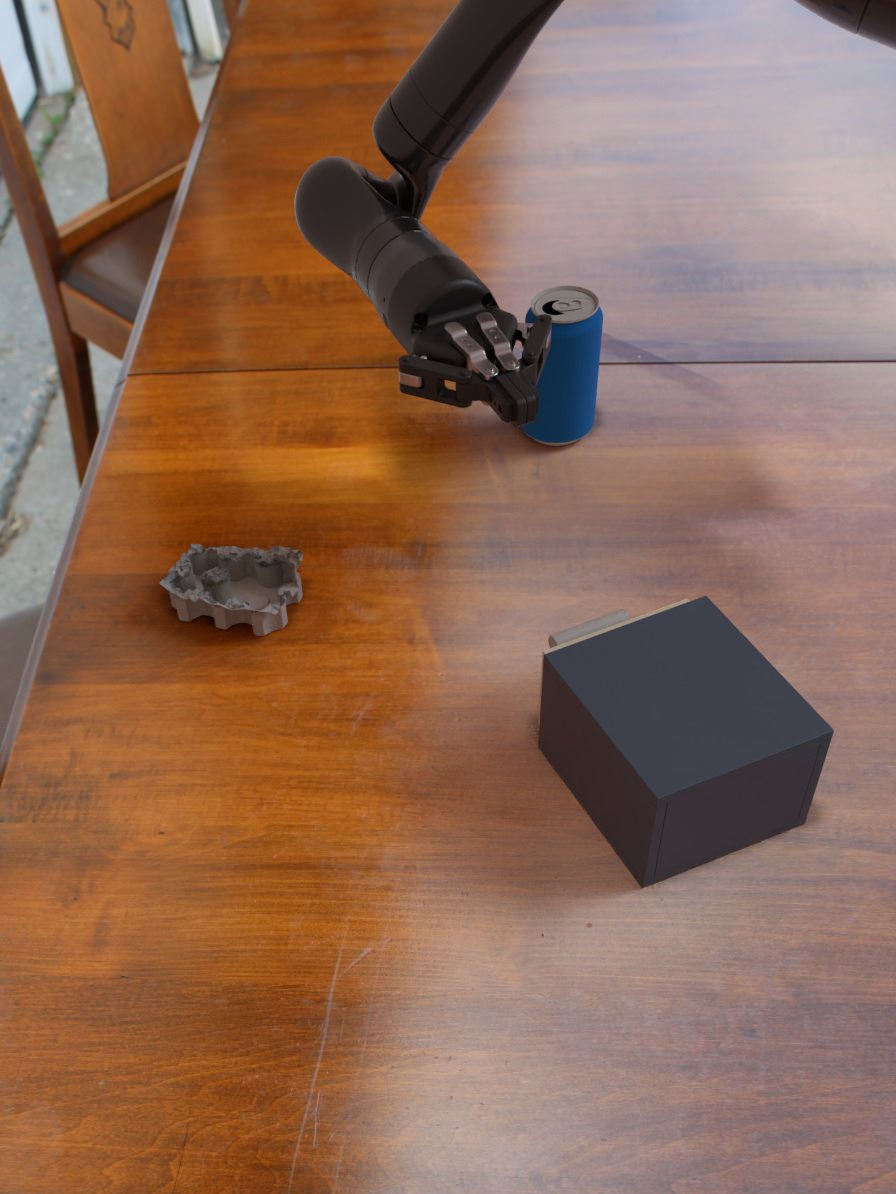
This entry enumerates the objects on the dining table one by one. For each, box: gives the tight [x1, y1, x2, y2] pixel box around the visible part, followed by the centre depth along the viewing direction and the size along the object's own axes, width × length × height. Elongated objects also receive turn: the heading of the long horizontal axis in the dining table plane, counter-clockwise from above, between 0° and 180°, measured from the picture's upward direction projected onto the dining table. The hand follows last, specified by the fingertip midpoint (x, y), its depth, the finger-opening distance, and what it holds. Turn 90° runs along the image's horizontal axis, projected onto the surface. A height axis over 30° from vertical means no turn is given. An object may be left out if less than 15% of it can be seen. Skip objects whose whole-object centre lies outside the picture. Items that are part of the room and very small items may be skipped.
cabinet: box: [537, 595, 835, 889], centre depth 90 cm, size 15×13×9 cm
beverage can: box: [521, 285, 604, 447], centre depth 115 cm, size 6×6×12 cm
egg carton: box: [159, 542, 304, 637], centre depth 109 cm, size 11×8×4 cm
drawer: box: [537, 598, 690, 727], centre depth 92 cm, size 17×11×7 cm, turn 22°
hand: (527, 413), depth 94 cm, fingers closed
